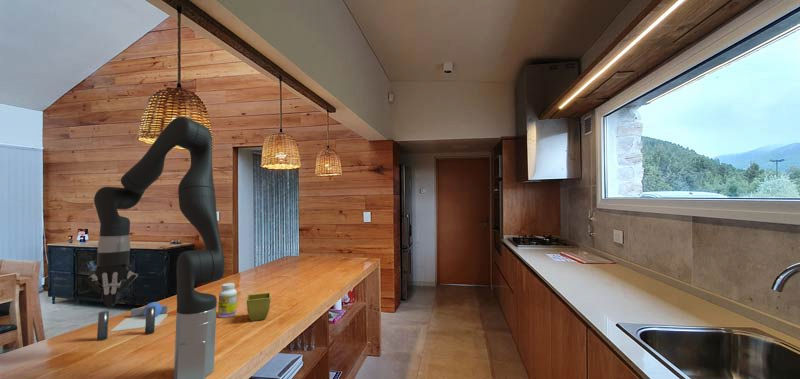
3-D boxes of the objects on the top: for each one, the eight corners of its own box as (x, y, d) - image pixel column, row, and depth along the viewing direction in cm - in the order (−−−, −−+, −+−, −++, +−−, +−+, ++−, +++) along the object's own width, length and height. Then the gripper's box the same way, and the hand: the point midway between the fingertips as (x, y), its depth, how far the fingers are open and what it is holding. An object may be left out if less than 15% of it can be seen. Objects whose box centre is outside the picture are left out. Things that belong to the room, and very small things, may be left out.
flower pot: (246, 316, 128) (247, 294, 129) (269, 313, 132) (270, 292, 132) (245, 324, 120) (246, 300, 121) (270, 320, 124) (270, 297, 124)
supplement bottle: (214, 316, 128) (215, 285, 129) (229, 311, 134) (230, 281, 135) (224, 319, 125) (225, 287, 126) (239, 314, 131) (240, 283, 132)
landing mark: (157, 326, 118) (157, 325, 118) (110, 331, 112) (110, 331, 112) (168, 314, 130) (168, 313, 130) (126, 318, 125) (126, 318, 125)
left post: (105, 339, 105) (106, 312, 106) (95, 341, 104) (97, 313, 105) (108, 337, 108) (110, 310, 108) (99, 338, 107) (100, 311, 107)
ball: (162, 317, 129) (157, 315, 124) (145, 319, 127) (139, 317, 122) (165, 302, 132) (160, 299, 127) (148, 304, 130) (142, 301, 125)
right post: (152, 333, 110) (154, 308, 111) (143, 335, 109) (145, 309, 110) (155, 331, 113) (156, 306, 113) (146, 332, 112) (147, 306, 112)
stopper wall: (166, 313, 131) (166, 306, 132) (130, 317, 127) (131, 309, 127) (167, 312, 133) (167, 305, 133) (132, 316, 128) (132, 308, 128)
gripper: (79, 252, 92) (76, 312, 91) (135, 250, 97) (132, 306, 96) (92, 249, 99) (89, 305, 98) (144, 247, 104) (141, 300, 103)
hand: (110, 305), depth 97 cm, fingers closed
